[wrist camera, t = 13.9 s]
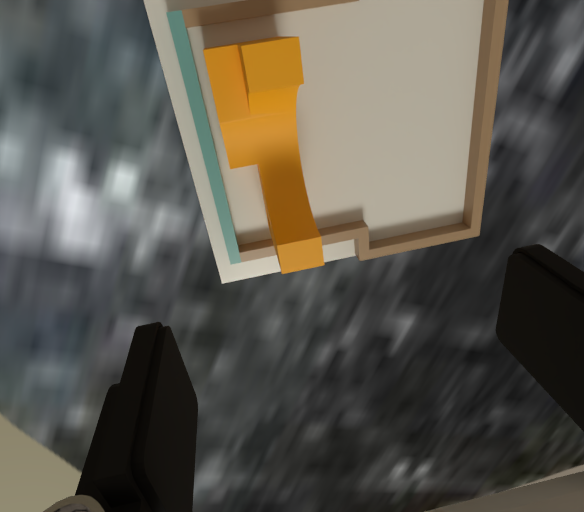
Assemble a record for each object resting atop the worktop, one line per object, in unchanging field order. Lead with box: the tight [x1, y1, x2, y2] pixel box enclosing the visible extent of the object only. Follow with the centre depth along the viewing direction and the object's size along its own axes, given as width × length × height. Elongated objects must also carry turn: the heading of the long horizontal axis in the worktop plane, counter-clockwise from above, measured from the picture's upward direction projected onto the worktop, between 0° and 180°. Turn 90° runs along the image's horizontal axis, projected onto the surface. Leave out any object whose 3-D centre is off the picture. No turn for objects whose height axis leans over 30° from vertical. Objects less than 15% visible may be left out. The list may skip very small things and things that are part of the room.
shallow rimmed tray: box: [144, 0, 509, 284], centre depth 26 cm, size 21×20×2 cm
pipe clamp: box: [203, 36, 324, 274], centre depth 23 cm, size 12×4×6 cm, turn 8°
